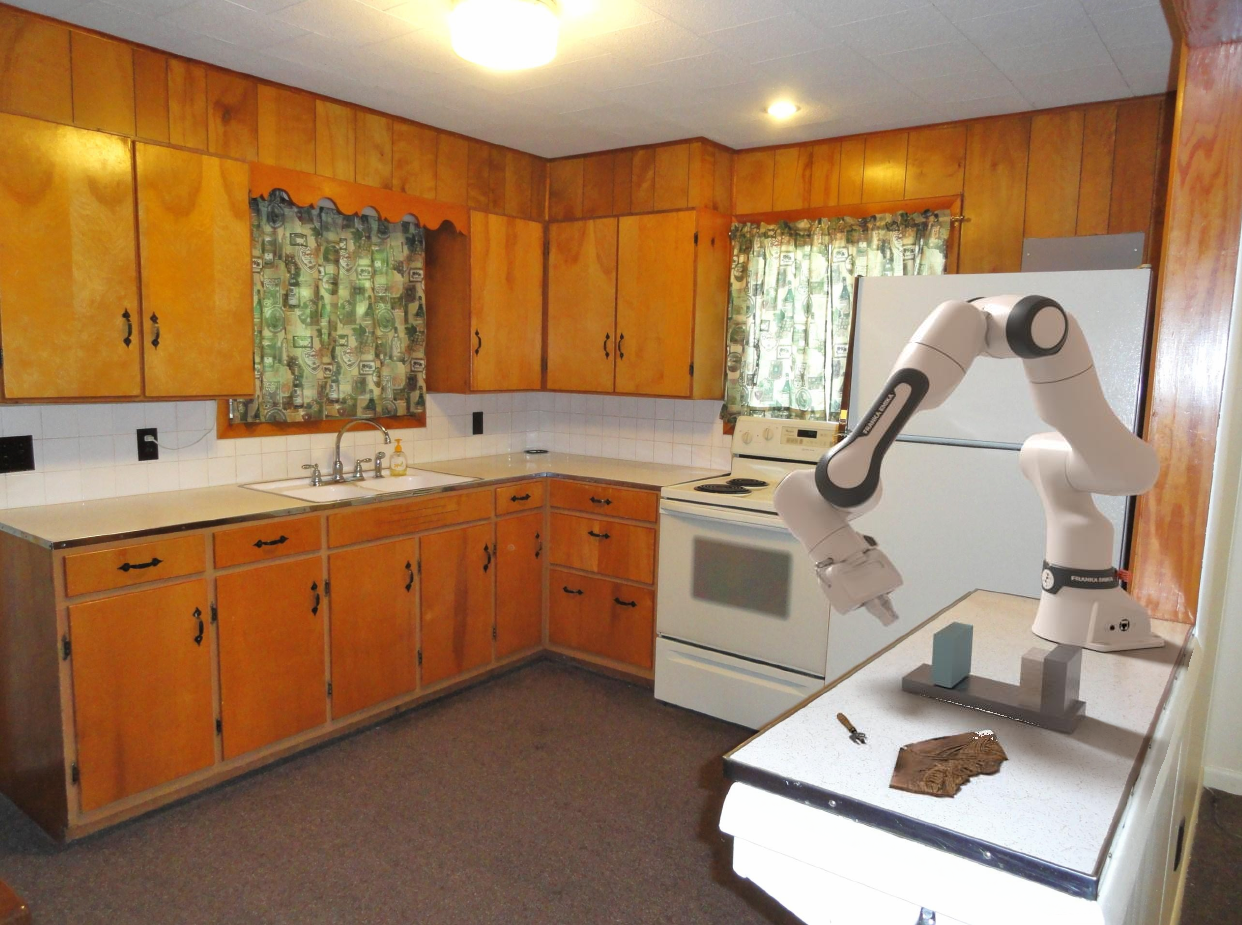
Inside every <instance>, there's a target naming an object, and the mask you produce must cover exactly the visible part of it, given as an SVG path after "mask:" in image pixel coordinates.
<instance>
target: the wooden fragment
mask: <svg viewBox="0 0 1242 925" xmlns="http://www.w3.org/2000/svg"><path fill="white" fill-rule="evenodd" d="M978 733H979V732H978ZM987 734H988V733H987ZM982 735H984V733H983V734H982ZM973 737H974V738H973ZM975 737H978V739H975ZM992 737H993V740H992V739H991V738H992ZM995 738H997V735H996V734H995V733H994V734H991V735H990V734H989V735H984V736H982V737H981V735H980V736H979V734H977V733H975V732H973V731H968V732H964V733H958V734H952V735H944V736H939V737H932V738H928V739H925V740H921V741H917V742H914V743H913V742H911V743H908V744H904V745H903V746H901V747H899V750H898V753H897V757H896V761H895V764H894V767H893V772H892V775H891V779H890V782H889V786H888V788H889V789H895V790H898V791H899V790H900V791H903V792H906V793H910V794H915V795H927V796H933V797H944V798H945V797H946V798H955V796H954V795H956V793H957V790H959V789H960V788H961V784H965V783H967V782H969V781H971V779H970V778H971V777H974V776H976V775H978V774H979V775H986V774H991V773H995V772H996V771H999V766H1000V764H1001V762H1003V761H1008V760H1009V757H1008V755H1006V753H1005V750H1004V749H1003V747H1002V746H1001V745H999V744H1000V743H999V741H998V740H997V739H995ZM996 740H997V741H996Z"/></svg>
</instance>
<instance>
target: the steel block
mask: <svg viewBox="0 0 1242 925" xmlns="http://www.w3.org/2000/svg"><path fill="white" fill-rule="evenodd" d="M1051 651H1052V650H1050V649H1045V648H1040V647H1034V646H1032V647H1031V648H1030V649H1029V650H1027V651H1026V652H1025V653H1024V654H1023V655H1022V656H1021V660H1020V671H1019V672H1020V676H1019V677H1020V678H1019V686H1020V687H1019V702H1018V703H1019V704H1023V705H1027V706H1031V707H1035V708H1038V709H1040V705H1041V691H1042V677H1043V663H1044V657H1045V656H1047V655H1048V654H1049V653H1050V652H1051Z"/></svg>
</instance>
